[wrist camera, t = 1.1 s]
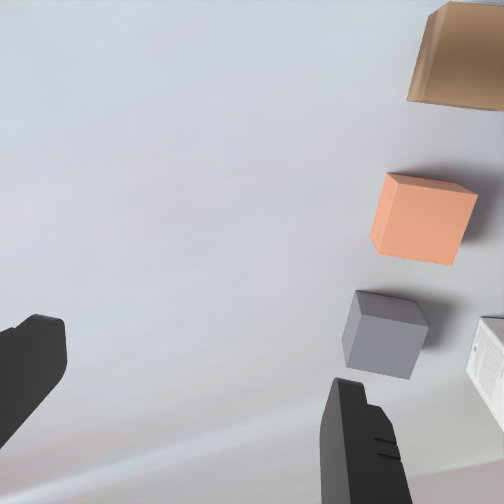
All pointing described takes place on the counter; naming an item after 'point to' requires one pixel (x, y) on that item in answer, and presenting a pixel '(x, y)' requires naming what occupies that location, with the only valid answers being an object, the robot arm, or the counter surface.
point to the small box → (489, 365)
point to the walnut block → (461, 58)
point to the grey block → (383, 334)
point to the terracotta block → (421, 218)
